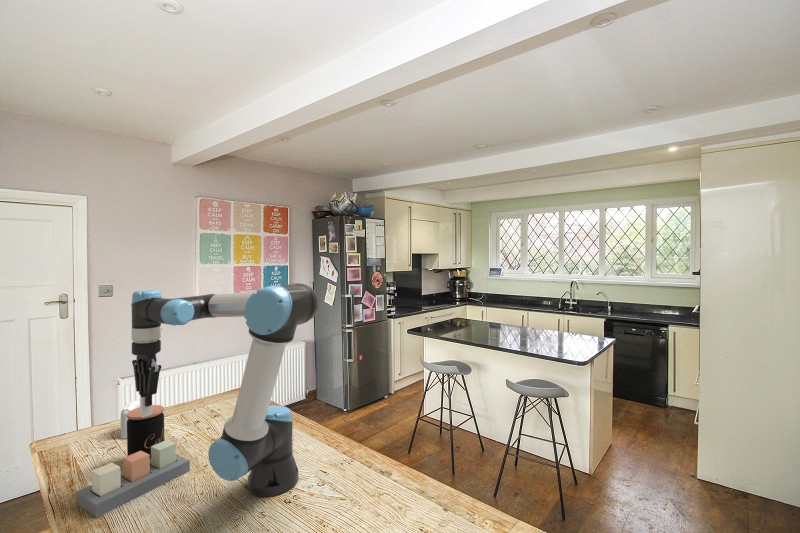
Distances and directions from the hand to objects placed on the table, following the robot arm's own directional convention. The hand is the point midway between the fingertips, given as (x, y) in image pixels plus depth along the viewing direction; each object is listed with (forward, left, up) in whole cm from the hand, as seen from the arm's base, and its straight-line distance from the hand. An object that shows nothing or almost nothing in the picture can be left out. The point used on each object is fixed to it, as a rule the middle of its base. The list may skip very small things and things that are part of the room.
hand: (146, 415), depth 119 cm
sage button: (+1, -5, -18) cm, 19 cm away
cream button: (+1, +11, -18) cm, 21 cm away
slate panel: (+1, +3, -21) cm, 21 cm away
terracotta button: (+1, +3, -18) cm, 18 cm away
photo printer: (+41, -15, -21) cm, 49 cm away
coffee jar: (+13, -6, -21) cm, 25 cm away
